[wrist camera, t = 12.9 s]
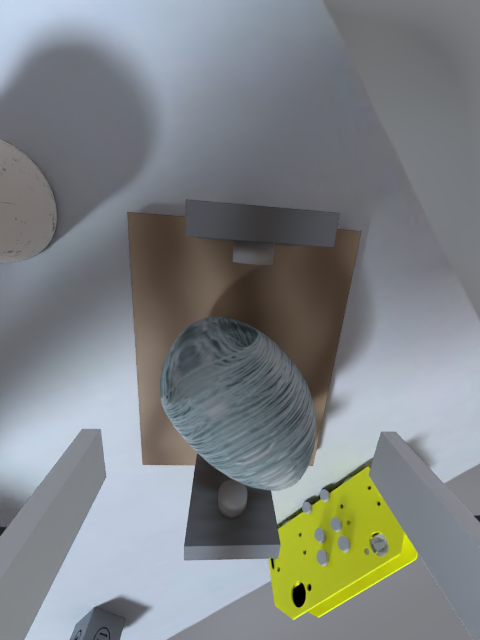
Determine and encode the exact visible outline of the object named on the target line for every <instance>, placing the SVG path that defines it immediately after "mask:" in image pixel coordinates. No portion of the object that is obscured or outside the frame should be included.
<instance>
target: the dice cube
mask: <svg viewBox="0 0 480 640" xmlns="http://www.w3.org/2000/svg"><path fill="white" fill-rule="evenodd" d="M124 622H125V618H122V617H120V616H117V615H114V614H111V613H109V612H106V611H103V610H100V609H98V608H95V607H94V608H93V609H92V610H91V611H90V612H89V613H88V614H87V615H86V616H85V617H84V618H83V619H81V620H80V621H79V622H78V623H77V624H76V626H75V628H74V631H73V633H72V636H71V638H70V640H120V637H121V633H122V630H123V626H124Z"/></svg>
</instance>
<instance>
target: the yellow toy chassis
mask: <svg viewBox="0 0 480 640" xmlns="http://www.w3.org/2000/svg"><path fill="white" fill-rule="evenodd" d="M369 471H370V467H369V466H368V467H366V468H365V469H363V470H362V471H360V472H359V473H358V474H356V475H355V476H351V477H348V478H347V479H346V480H344V482H343V483H342V485H340V486H339V487H338V488H336V489H335V490H333V491H332V492H330V493H329V492H328V491H327V490H325V489H323V490H321V492H320V498H321V499H320V500H319V501H318V502H316V503H315V504H313V505H311V504H310V503H309V502H304V503H303V506H302V510H303V512H302V513H300V514H299V515H298V516H296V517H295V518H293V519H290V520H287V521H286V522H284V524H283V525H282V527H280V528H279V529H278V533H279V538H280V544H281V546H280V551H279V557H278V558H268V559H269V567H270V574H271V581H272V589H273V596H274V603H275V606H276V607H277V608H279V609H280V610H281V611H283V612H284V613H285V614H286V615H288V616H289V617H290V618H292V619H293V620H294V619H296V618H297V617H299V616H301V615H302V614H304V613H306V612H309V613H311V614H313V615H314V616H316V617H320V616H322V615H324V614H326V613H327V612H329V611H331V610H332V609H334V608H336V607H337V606H339V605H340V604H342V603H344V602H345V601H347V600H349V599H351V598H352V597H354V596H356V595H357V594H359V593H361V592H362V591H364V590H366V589H367V588H369V587H371V586H373V585H374V584H376V583H377V582H379V581H381V580H382V579H384V578H386V577H388V576H389V575H391V574H393V573H394V572H396V571H398V570H399V569H401V568H403V567H404V566H406V565H407V564H409V563H411V562H413V561H415V560H416V559H417V555H418V553H417V551H416V549H415V548H414V546H413V545H412V543H411V542H410V540H409V538H408V537H407V535H406V534H405V532H404V531H403V529H402V527H401V526H400V524H399V523H398V521H397V519H396V518H395V516H394V515H393V513H392V512H391V510H390V508H389V507H388V505H387V504H386V502H385V501H384V499H383V497H382V496H381V494H380V493H379V491H378V489H377V488H376V486H375V485H374V483H373V482H372V480H371V478H370V477H369ZM342 505H343V507H342Z"/></svg>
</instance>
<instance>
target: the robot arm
mask: <svg viewBox="0 0 480 640" xmlns="http://www.w3.org/2000/svg"><path fill="white" fill-rule="evenodd" d="M369 477H370V478H371V480H372V482H373V483H374V485H375V486H376V488H377V489H378V491H379V493H380V494H381V496H382V497H383V499H384V501H385V502H386V504H387V505H388V507H389V508H390V510H391V512H392V513H393V515H394V516H395V518H396V519H397V521H398V523H399V524H400V526H401V527H402V529H403V531H404V532H405V534H406V535H407V537H408V538H409V540H410V542H411V543H412V545H413V546H414V548H415V549H416V551H417V553H418V554H419V556H420V557H421V559H422V561H423V562H424V563H425V565H426V567H427V568H428V570H429V571H430V573H431V575H432V576H433V578H434V579H435V581H436V582H437V584H438V586H439V587H440V589H441V590H442V592H443V593H444V595H445V597H446V598H447V600H448V601H449V603H450V605H451V606H452V608H453V609H454V611H455V613H456V614H457V616H458V617H459V619H460V621H461V622H462V624H463V625H464V627H465V628H466V630H467V632H468V633H469V635H470V636H471V638H472V639H473V640H480V516H473V515H472V514H471V513H470V511H469V510H468V509H467V508H466V507H465V506H464V505H463V504H462V503H461V502H460V501H459V500H458V498H457V497H456V496H455V495H454V494H453V493H452V492H451V491H450V490H449V489H448V488H447V487H446V485H445V484H444V483H443V482H442V481H441V480H440V479H439V478H438V477H437V476H436V475H435V474H434V473H433V471H432V470H431V469H430V468H429V467H428V466H427V465H426V464H425V463H424V462H423V461H422V460H421V458H420V457H419V456H418V455H417V454H416V453H415V452H414V451H413V450H412V449H411V448H410V447H409V446H408V444H407V443H406V442H405V441H404V440H403V439H402V438H401V437H400V436H399V435H398V434H397V433H396V432H381V434H380V437H379V441H378V444H377V447H376V451H375V454H374V458H373V461H372V465H371V468H370V471H369ZM105 478H106V471H105V463H104V454H103V446H102V437H101V429H82V430H81V431H80V433H79V434H78V435H77V437H76V438H75V439H74V441H73V442H72V443H71V445H70V446H69V447H68V448H67V450H66V451H65V452H64V454H63V455H62V456H61V458H60V459H59V460H58V462H57V463H56V464H55V465H54V467H53V468H52V469H51V471H50V472H49V473H48V475H47V476H46V477H45V479H44V480H43V481H42V482H41V484H40V485H39V486H38V488H37V489H36V490H35V492H34V493H33V494H32V496H31V497H30V498H29V499H28V501H27V502H26V503H25V505H24V506H23V507H22V509H21V510H20V511H19V513H18V514H17V515H16V516H15V518H14V519H13V520H12V522H11V523H10V524H9V526H8V527H0V640H24V639H25V637H26V635H27V633H28V631H29V629H30V627H31V625H32V623H33V621H34V619H35V617H36V615H37V613H38V611H39V609H40V607H41V605H42V603H43V601H44V599H45V597H46V595H47V593H48V591H49V589H50V587H51V585H52V583H53V581H54V579H55V577H56V575H57V573H58V571H59V569H60V567H61V566H62V564H63V562H64V560H65V558H66V556H67V554H68V552H69V550H70V548H71V546H72V544H73V542H74V540H75V538H76V536H77V534H78V532H79V530H80V528H81V526H82V524H83V522H84V520H85V518H86V516H87V514H88V512H89V510H90V508H91V506H92V504H93V502H94V500H95V498H96V496H97V494H98V492H99V490H100V488H101V486H102V484H103V482H104V480H105Z"/></svg>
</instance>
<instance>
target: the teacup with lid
mask: <svg viewBox="0 0 480 640" xmlns="http://www.w3.org/2000/svg"><path fill="white" fill-rule="evenodd" d="M56 224H57V208H56V203H55V199H54V195H53V192H52V190H51V188H50V185H49V183H48V182H47V180H46V178H45V177H44V175H43V174H42V172H41V171H40V170H39V168H38V167H37V166H36V165H35V164H34V163H33V161H32V160H31V159H30V158H28V157H27V156H26V155H25V154H24V153H23V152H21V151H20V150H19V149H17V148H16V147H14V146H12V145H11V144H9V143H7V142H5V141H3V140H1V139H0V262H12V261H21V260H25V259H28V258H31V257H33V256H35V255H37V254H38V253H40V252H41V251H42V250H43V249H44V248H45V247H46V246H47V245H48V244H49V242H50V241H51V239H52V237H53V235H54V232H55V229H56Z"/></svg>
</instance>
